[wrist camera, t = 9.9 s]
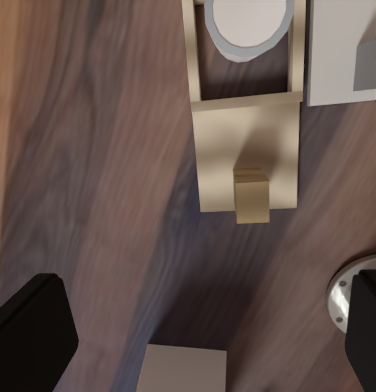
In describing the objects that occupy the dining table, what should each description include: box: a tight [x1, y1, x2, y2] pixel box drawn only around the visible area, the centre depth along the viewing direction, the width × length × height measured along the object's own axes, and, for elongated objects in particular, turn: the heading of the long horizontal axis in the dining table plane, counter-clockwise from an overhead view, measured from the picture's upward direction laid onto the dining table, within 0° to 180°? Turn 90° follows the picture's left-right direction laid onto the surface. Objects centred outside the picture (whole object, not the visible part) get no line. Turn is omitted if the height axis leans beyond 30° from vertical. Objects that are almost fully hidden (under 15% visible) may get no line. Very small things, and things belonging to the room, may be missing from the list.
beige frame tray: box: [182, 0, 306, 223], centre depth 26 cm, size 22×11×7 cm, turn 5°
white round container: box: [204, 0, 295, 62], centre depth 24 cm, size 7×7×7 cm
